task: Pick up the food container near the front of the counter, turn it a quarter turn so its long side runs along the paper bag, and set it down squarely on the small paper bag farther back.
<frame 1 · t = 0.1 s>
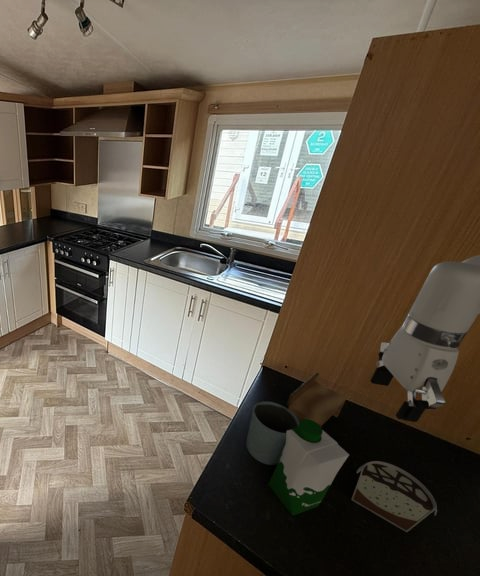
hand: (391, 400, 63), 25 cm above the worktop, tool pointing down, fingers open, 9 cm apart
paper bag: (310, 419, 90), on the worktop
milk carton: (291, 496, 71), on the worktop
grey cup: (263, 449, 81), on the worktop
food container: (378, 504, 69), on the worktop
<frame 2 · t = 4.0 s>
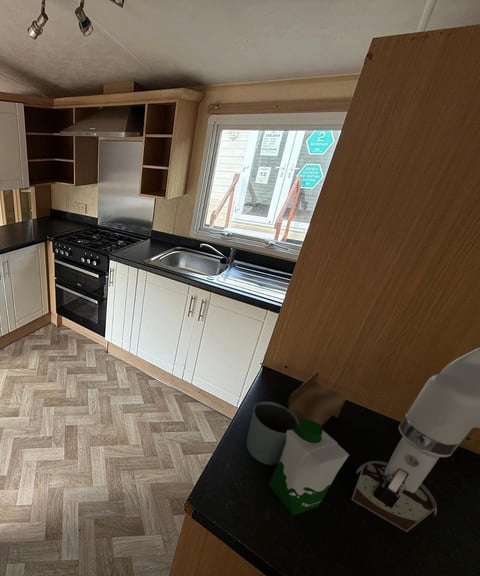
hand: (388, 490, 67), 5 cm above the worktop, tool pointing down, fingers closed on food container, 6 cm apart
food container: (378, 504, 69), on the worktop, touching gripper
everything else where it was.
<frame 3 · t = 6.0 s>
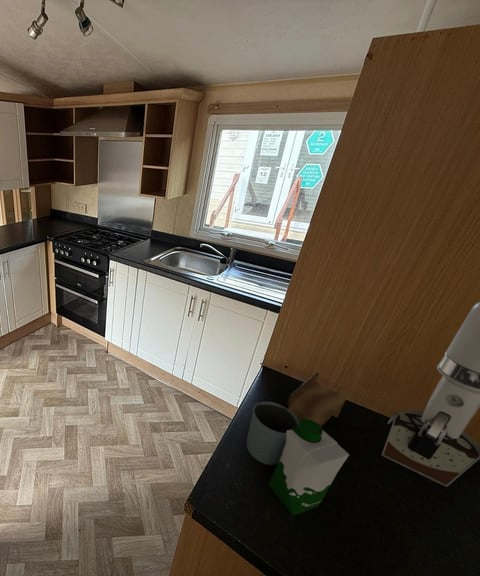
hand: (424, 442, 60), 21 cm above the worktop, tool pointing down, fingers closed on food container, 6 cm apart
food container: (412, 460, 63), point 15 cm above the worktop, touching gripper
everything else where it was.
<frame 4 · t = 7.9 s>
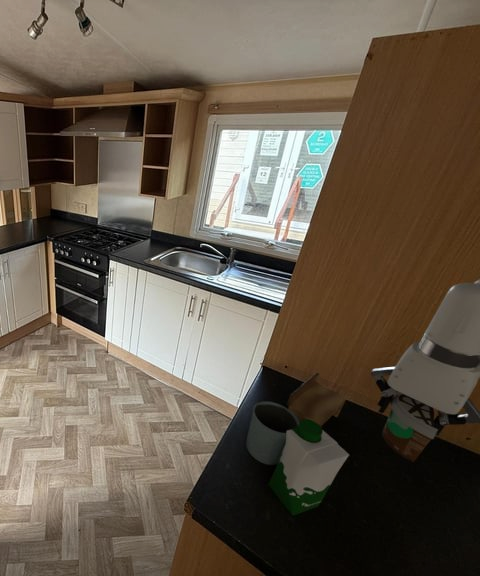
hand: (405, 420, 63), 22 cm above the worktop, tool pointing down, fingers closed on food container, 6 cm apart
food container: (393, 438, 66), point 16 cm above the worktop, touching gripper
everything else where it was.
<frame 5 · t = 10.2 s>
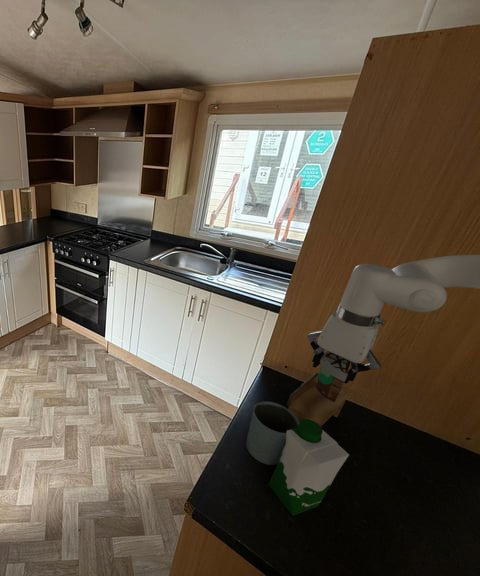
hand: (331, 372, 82), 17 cm above the worktop, tool pointing down, fingers closed on food container, 6 cm apart
food container: (324, 387, 85), point 12 cm above the worktop, touching gripper
everything else where it was.
when the fingers open (12 cm above the worktop, at t = 12.1 s): food container stays where it is, resting on paper bag.
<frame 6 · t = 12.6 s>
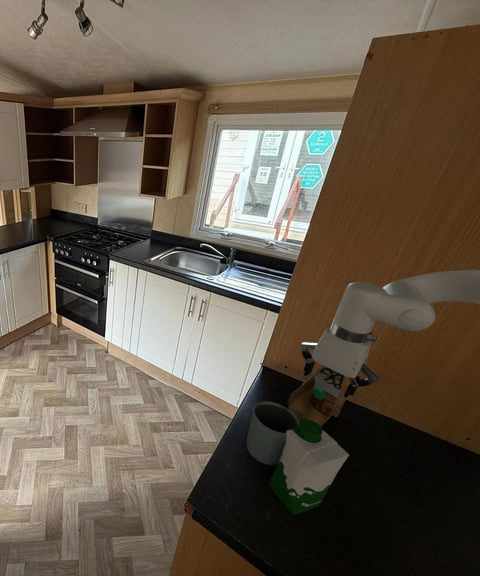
hand: (326, 384, 84), 13 cm above the worktop, tool pointing down, fingers open, 9 cm apart
food container: (318, 401, 87), point 7 cm above the worktop, touching paper bag
everything else where it was.
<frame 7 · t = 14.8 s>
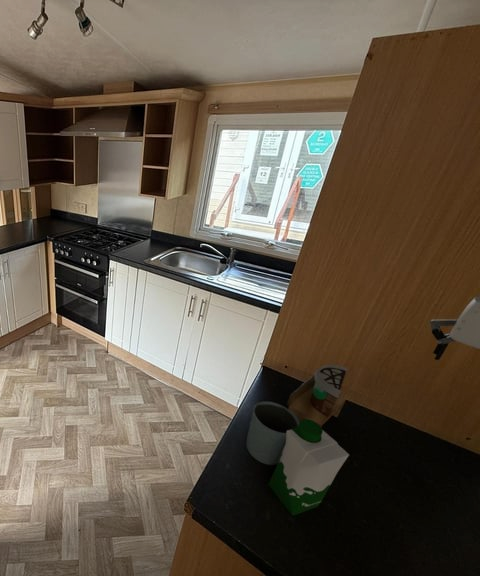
hand: (468, 368, 69), 28 cm above the worktop, tool pointing down, fingers open, 9 cm apart
nothing on the worktop moved.
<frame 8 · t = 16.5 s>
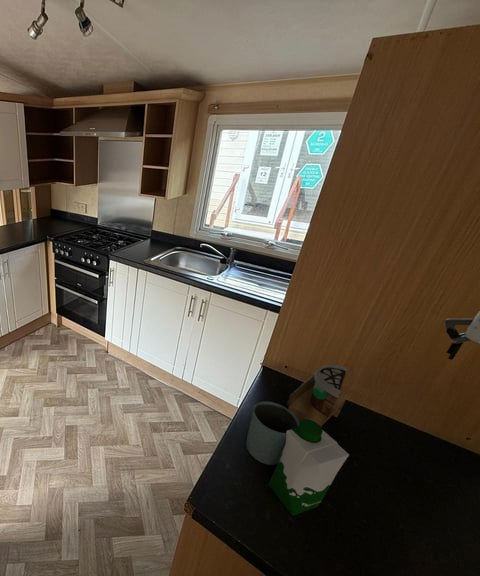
nothing on the worktop moved.
at the end: food container 0.0 cm off-centre on the paper bag, point 6.8 cm above the paper bag's base; food container tilted 0° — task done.
